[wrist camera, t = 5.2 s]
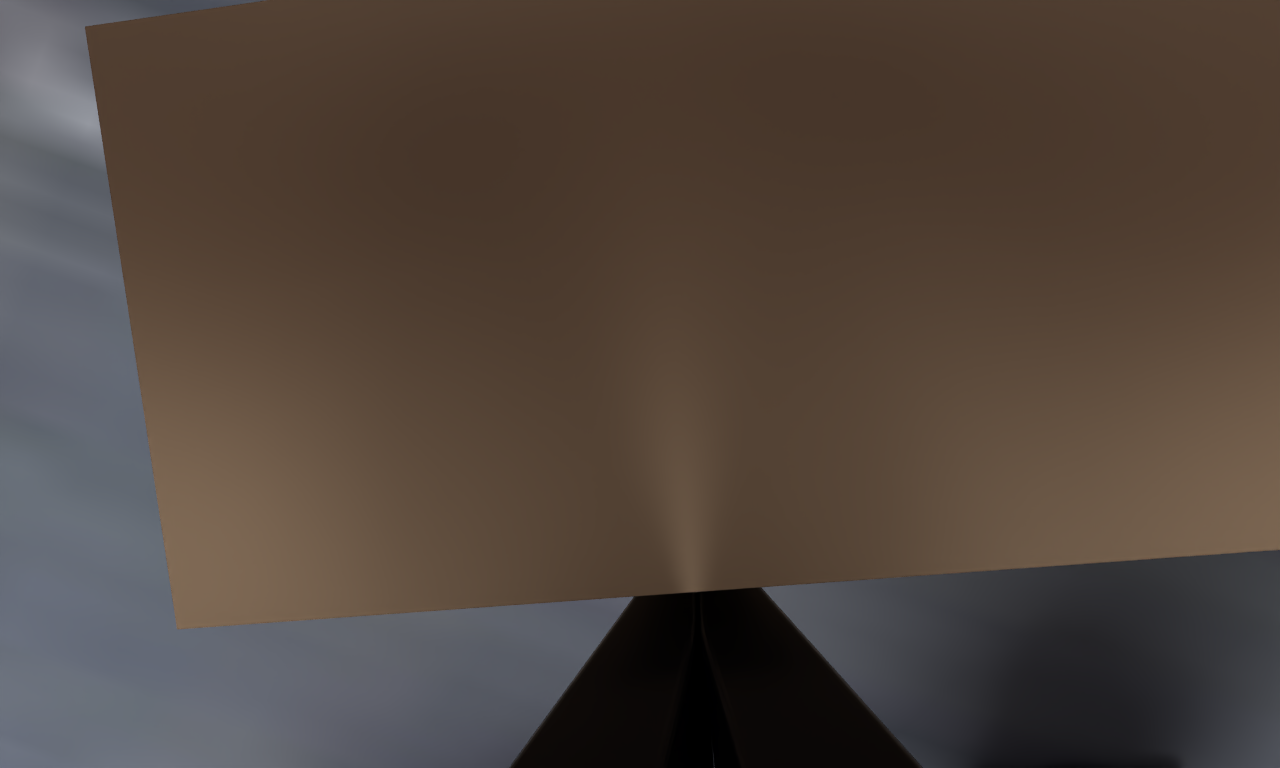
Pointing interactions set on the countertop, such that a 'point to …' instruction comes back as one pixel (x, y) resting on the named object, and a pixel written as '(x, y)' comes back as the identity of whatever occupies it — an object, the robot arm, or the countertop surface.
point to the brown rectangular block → (692, 292)
